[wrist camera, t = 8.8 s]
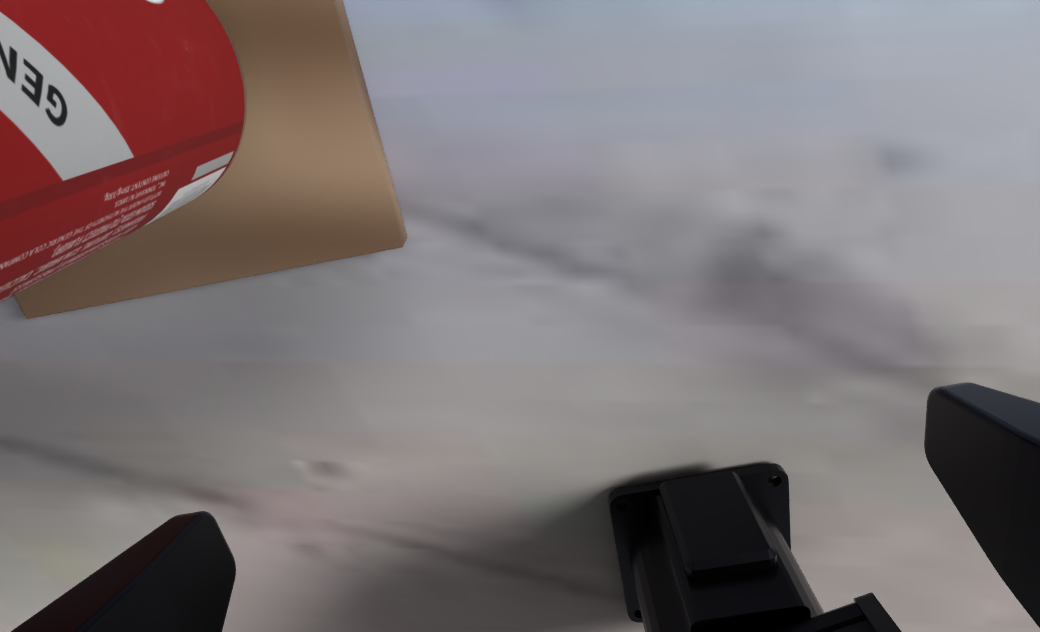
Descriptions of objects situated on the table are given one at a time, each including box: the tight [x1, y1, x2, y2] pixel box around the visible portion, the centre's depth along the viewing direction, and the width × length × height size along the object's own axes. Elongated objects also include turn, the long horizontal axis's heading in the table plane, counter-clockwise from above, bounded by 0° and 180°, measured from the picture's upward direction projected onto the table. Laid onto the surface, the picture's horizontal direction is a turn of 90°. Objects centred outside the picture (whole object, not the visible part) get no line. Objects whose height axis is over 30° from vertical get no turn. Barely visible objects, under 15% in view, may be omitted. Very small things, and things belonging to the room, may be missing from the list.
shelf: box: [14, 0, 407, 319], centre depth 16 cm, size 14×12×4 cm
